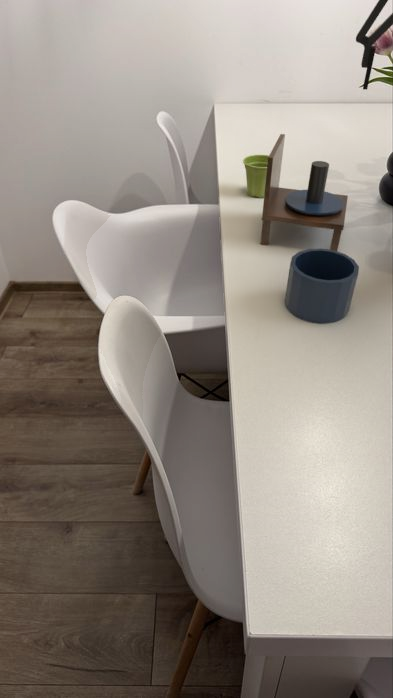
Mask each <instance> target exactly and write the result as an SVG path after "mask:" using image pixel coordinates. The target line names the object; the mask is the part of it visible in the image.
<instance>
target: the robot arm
mask: <svg viewBox="0 0 393 698" xmlns="http://www.w3.org/2000/svg"><path fill="white" fill-rule="evenodd" d="M388 1H389V0H377V2H376V4H375V5H374V8H373V9H372V10H371V12H370V14H369V15H368V17H367V19H366V20H365V21H364V23H363V25H362V26H361V28H360V29H359V31H358V33H357V34H356V37H355V42H356V43H358V44H361V45H362V46H363V54H362V59H361V64H360V65H361V68H363V69H366V71H365V76H364V79H363V86H362V90H365V91H366V90H368V87H369V82H370V78H371V73H372V68H373V63H374V58H375V53H376V49H377V46H376V45H374V44H375V43H376V42H377V41H378V40H379V39H380V38H381V37H382V36H383V35H384V34H385V33H386V32H387V31H388V30H389V29H390V28H392V26H393V12H392V13H391V14H390V15H389V16H388V17H387V18H386V19H385V20H384V21H383V22H382V23H381V24H380V25H379V26H378V27H377V28H376V29H375V30H374V31H373V32H372V33H371V34H370V35H369V36H368V35H367V34H368V33H369V31H370V29H371V28H372V27H373V24H374V23H375V22H376V20H377V18H378V17H379V15H380V14H381V12H382V11H383V9H384V7H385V6H386V5H387V3H388Z"/></svg>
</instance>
